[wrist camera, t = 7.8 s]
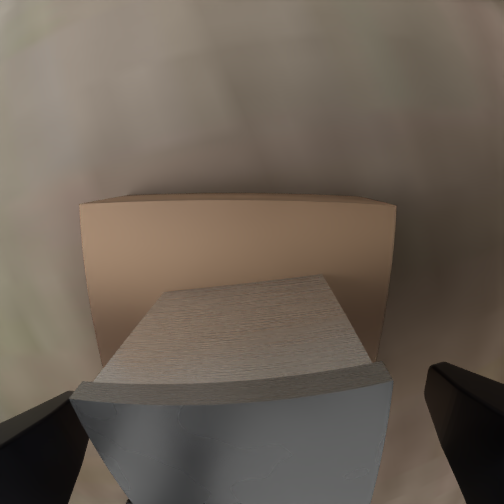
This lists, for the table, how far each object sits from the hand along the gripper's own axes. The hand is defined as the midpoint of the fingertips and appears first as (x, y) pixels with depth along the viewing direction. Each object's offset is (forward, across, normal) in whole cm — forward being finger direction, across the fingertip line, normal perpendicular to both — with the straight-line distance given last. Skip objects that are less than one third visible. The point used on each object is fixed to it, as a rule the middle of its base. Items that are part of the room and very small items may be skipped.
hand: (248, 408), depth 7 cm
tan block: (+6, +1, 0) cm, 6 cm away
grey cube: (+2, 0, 0) cm, 2 cm away
